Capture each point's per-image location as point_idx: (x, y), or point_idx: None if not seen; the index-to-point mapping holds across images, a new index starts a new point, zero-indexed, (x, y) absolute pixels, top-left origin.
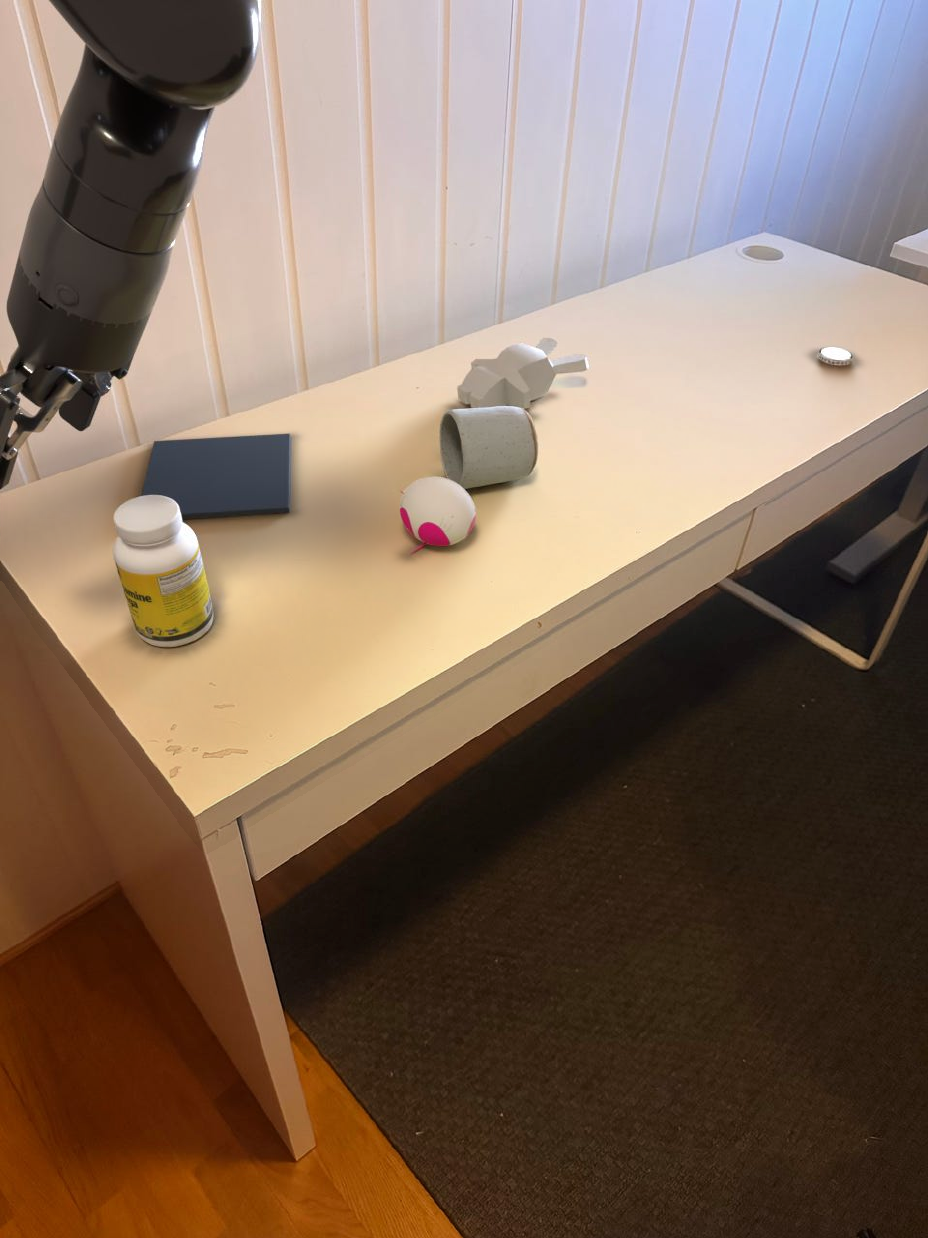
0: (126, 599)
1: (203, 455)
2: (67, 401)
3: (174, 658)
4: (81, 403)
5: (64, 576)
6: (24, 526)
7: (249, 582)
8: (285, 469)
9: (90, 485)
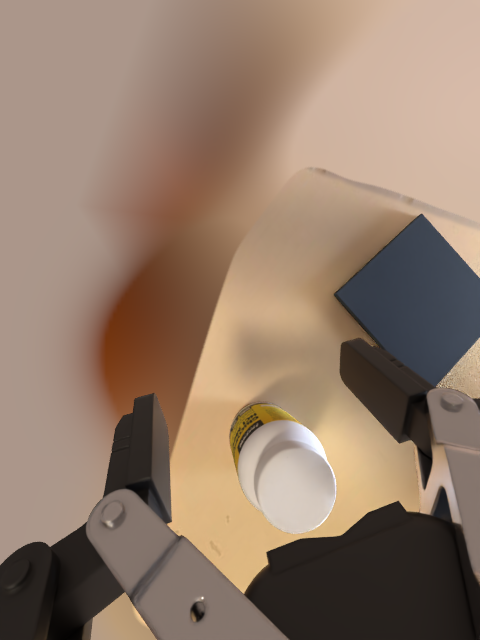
0: (237, 429)
1: (433, 269)
2: (367, 370)
3: (231, 466)
4: (378, 402)
5: (248, 303)
6: (273, 218)
7: (334, 441)
8: (464, 348)
9: (344, 216)
